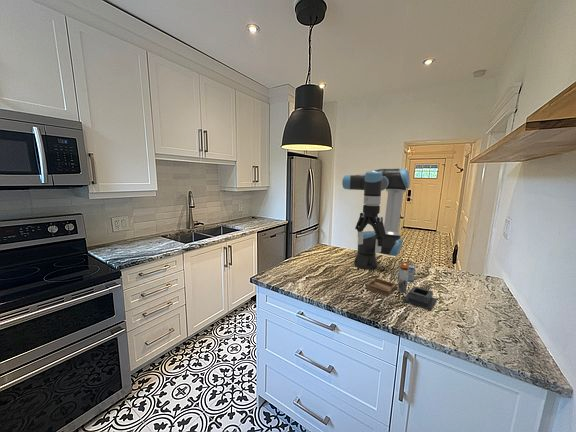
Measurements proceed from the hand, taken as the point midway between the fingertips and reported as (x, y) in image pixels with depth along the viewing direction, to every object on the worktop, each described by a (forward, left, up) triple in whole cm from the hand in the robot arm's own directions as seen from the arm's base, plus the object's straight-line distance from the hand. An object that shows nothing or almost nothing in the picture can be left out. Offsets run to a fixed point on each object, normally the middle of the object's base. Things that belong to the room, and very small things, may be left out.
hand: (368, 248), depth 119 cm
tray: (-14, +3, -25) cm, 29 cm away
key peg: (-20, +12, -25) cm, 34 cm away
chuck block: (-14, +22, -25) cm, 36 cm away
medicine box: (-36, +9, -25) cm, 45 cm away
